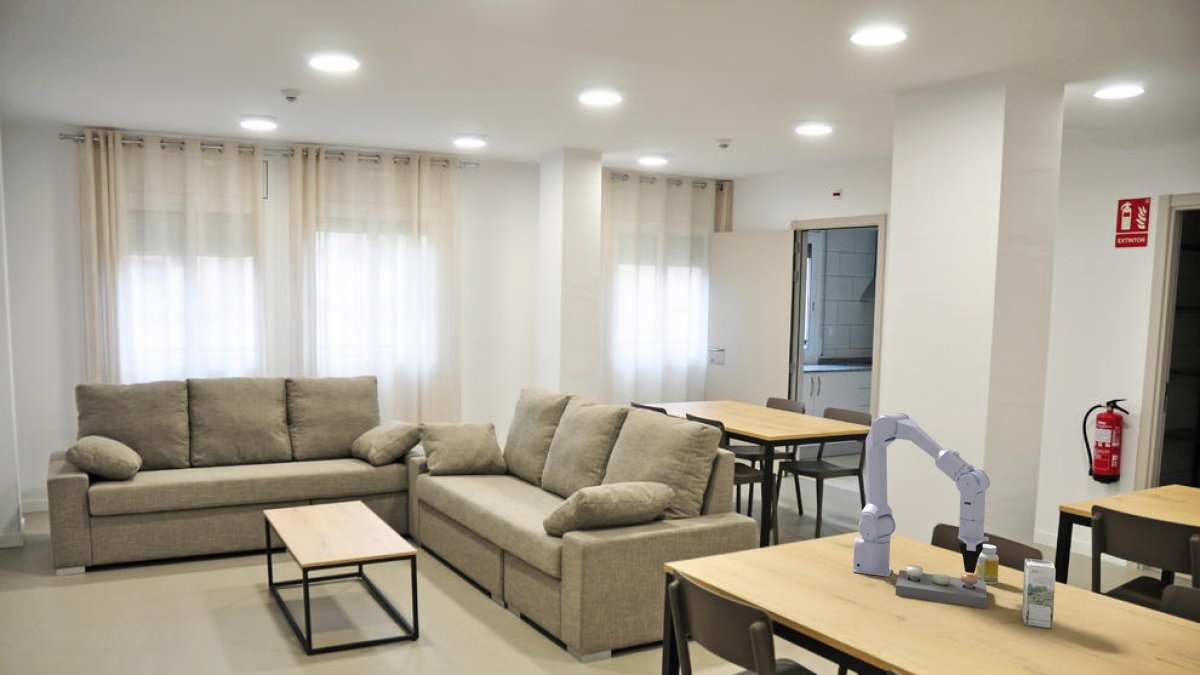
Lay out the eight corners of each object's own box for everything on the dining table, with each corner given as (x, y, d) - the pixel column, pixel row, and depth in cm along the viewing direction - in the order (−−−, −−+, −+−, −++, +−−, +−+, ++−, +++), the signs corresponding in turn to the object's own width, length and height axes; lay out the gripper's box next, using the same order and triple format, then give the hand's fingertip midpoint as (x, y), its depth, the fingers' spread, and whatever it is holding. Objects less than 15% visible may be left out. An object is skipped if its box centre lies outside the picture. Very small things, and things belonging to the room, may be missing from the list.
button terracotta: (960, 590, 214) (960, 576, 214) (960, 585, 217) (960, 571, 217) (977, 592, 212) (978, 578, 212) (977, 588, 216) (978, 574, 216)
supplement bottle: (971, 580, 228) (973, 545, 228) (981, 577, 232) (983, 542, 231) (991, 586, 224) (993, 550, 224) (1001, 582, 228) (1002, 546, 227)
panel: (895, 594, 215) (895, 585, 215) (899, 579, 228) (899, 569, 228) (986, 608, 207) (987, 598, 207) (985, 591, 220) (985, 581, 220)
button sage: (932, 591, 216) (932, 577, 216) (932, 586, 220) (933, 572, 220) (949, 593, 215) (949, 579, 215) (949, 588, 219) (950, 574, 218)
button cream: (905, 582, 219) (905, 568, 219) (906, 578, 223) (906, 564, 222) (922, 584, 217) (922, 570, 217) (922, 580, 221) (923, 566, 221)
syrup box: (1048, 621, 199) (1051, 559, 199) (1053, 630, 194) (1055, 566, 193) (1021, 617, 201) (1024, 556, 201) (1025, 626, 195) (1028, 563, 195)
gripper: (990, 527, 206) (988, 582, 206) (988, 514, 219) (986, 566, 220) (958, 523, 209) (956, 578, 209) (958, 511, 222) (956, 562, 223)
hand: (969, 572), depth 215 cm, fingers closed
